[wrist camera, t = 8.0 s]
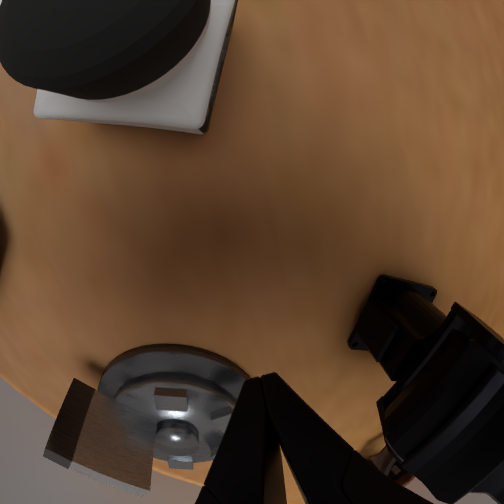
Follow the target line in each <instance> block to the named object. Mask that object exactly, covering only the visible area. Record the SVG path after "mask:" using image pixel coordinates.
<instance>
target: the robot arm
mask: <svg viewBox="0 0 504 504" xmlns="http://www.w3.org/2000/svg"><path fill="white" fill-rule="evenodd" d="M384 280H385V282H384V283H383V284H382V282H383V281H384ZM431 292H432V293H431ZM436 294H437V290H436V289H435V288H434V287H432V286H428V285H424V284H420V283H416V282H412V281H408V280H404V279H400V278H396V277H392V276H388V275H381V276H380V277H379V278H378V279H377V282H376V284H375V286H374V288H373V291H372V293H371V295H370V297H369V299H368V302H367V303H366V306H365V308H364V310H363V312H362V314H361V316H360V318H359V320H358V322H357V324H356V326H355V329H354V331H353V333H352V334H351V336H350V338H349V340H348V346H349V347H350V349H354V350H366V351H369V352H370V353H371V355H372V356H373V357H374V359H375V360H376V362H379V363H380V365H381V366H382V368H383V369H384V371H385V372H386V374H387V375H388V376H389V378H390V379H391V381H396V383H395V384H394V385H393V386H392V387H391V388H390V389H389V391H388V392H387V393H386V394H385V395H384V396H382V397H381V398H380V399H379V400H378V401H377V402H376V403H377V408H378V412H379V416H380V421H381V425H382V430H383V435H384V440H385V443H386V446H387V450H388V452H389V453H390V454H391V455H392V456H393V457H394V458H395V459H396V460H397V461H398V462H399V463H400V466H401V467H402V468H403V469H405V470H406V471H408V472H410V473H412V474H413V475H414V476H415V477H417V478H418V479H419V480H420V481H421V482H422V483H423V484H424V485H425V486H426V487H427V488H428V489H429V491H430V492H431V493H432V494H433V495H434V497H435V498H436V499H437V500H439V501H442V502H445V503H448V504H454V503H455V502H457V501H458V500H460V499H461V498H462V497H464V496H465V495H466V494H467V493H485V494H487V495H489V496H490V497H491V498H492V499H493V500H495V501H496V502H497V503H498V504H504V339H503V338H502V337H501V336H500V335H499V334H497V333H496V332H495V331H494V330H493V329H492V328H490V327H489V326H488V325H487V324H486V323H484V322H483V321H482V320H481V319H479V318H478V317H476V316H475V315H474V314H472V313H471V312H470V311H468V310H467V309H465V308H464V307H462V306H461V305H460V304H458V303H457V302H454V304H453V306H452V307H451V311H450V312H449V314H448V315H447V316H446V315H444V314H443V313H442V312H441V311H440V310H439V309H438V308H437V307H435V306H434V305H433V304H432V302H433V300H434V298H435V296H436ZM354 342H355V343H354ZM353 343H354V344H353ZM280 446H281V449H282V452H283V454H284V456H285V459H286V461H287V463H288V466H289V468H290V470H291V472H292V475H293V477H294V479H295V481H296V484H297V486H298V488H299V490H300V492H301V495H302V497H303V499H304V501H305V503H306V504H433V503H432V502H430V501H428V500H426V499H424V498H423V497H421V496H419V495H417V494H415V493H414V492H412V491H410V490H409V489H407V488H405V487H404V486H402V485H400V484H399V483H397V482H395V481H394V480H392V479H391V478H389V477H388V476H386V475H385V474H384V473H382V472H381V471H379V470H378V469H377V468H376V467H374V466H373V465H372V464H371V463H370V462H368V461H367V460H366V459H365V458H364V457H363V456H361V455H360V454H359V453H358V452H357V451H356V450H354V449H353V448H352V447H351V446H350V445H349V444H348V443H347V442H346V441H345V440H344V439H343V438H342V437H341V436H340V435H339V434H337V433H336V432H335V431H334V430H333V429H332V428H331V427H330V426H329V425H328V424H327V423H326V422H325V421H324V420H323V419H322V418H321V417H320V416H319V415H318V414H317V413H316V412H315V411H314V410H313V409H312V408H311V407H310V406H309V405H308V404H307V403H306V402H305V401H304V400H303V399H302V398H301V397H300V396H299V395H298V394H297V393H296V392H295V391H294V390H293V389H292V388H291V387H290V386H289V385H288V384H287V383H286V382H285V381H284V380H283V379H282V378H281V377H280V376H279V375H278V374H277V373H275V372H273V373H269V374H265V375H262V376H261V378H260V377H254V378H250V379H246V380H245V381H244V383H243V385H242V388H241V391H240V393H239V396H238V399H237V401H236V404H235V407H234V409H233V412H232V414H231V417H230V420H229V422H228V425H227V427H226V430H225V432H224V435H223V437H222V440H221V442H220V445H219V447H218V450H217V452H216V455H215V457H214V460H213V462H212V465H211V467H210V470H209V472H208V475H207V477H206V479H205V482H204V485H205V486H206V487H205V486H203V487H202V489H201V491H200V493H199V496H198V498H197V500H196V502H195V504H287V500H286V491H285V483H284V474H283V465H282V456H281V449H280Z"/></svg>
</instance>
